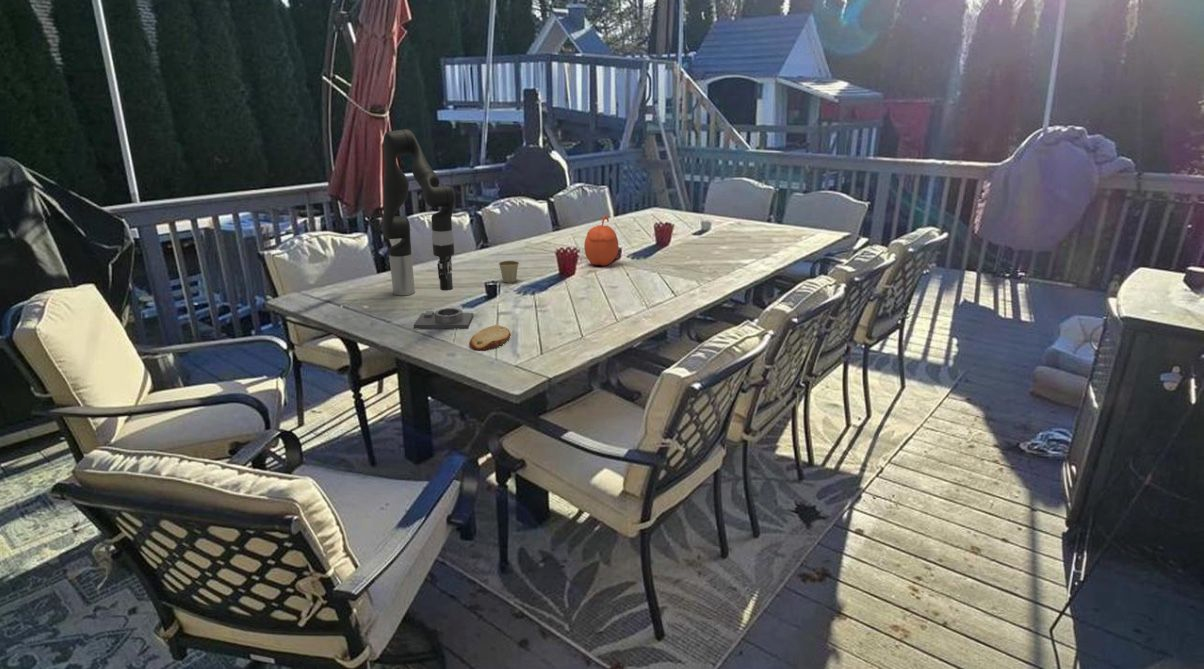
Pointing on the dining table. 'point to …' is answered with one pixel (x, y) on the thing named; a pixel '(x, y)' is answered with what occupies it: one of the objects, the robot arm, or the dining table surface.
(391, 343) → the dining table surface
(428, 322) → the camera plate
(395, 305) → the dining table surface
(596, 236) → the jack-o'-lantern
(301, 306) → the dining table surface
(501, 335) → the slice of bread
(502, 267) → the flower pot
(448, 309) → the grey thick ring
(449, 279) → the domed grey cylinder
